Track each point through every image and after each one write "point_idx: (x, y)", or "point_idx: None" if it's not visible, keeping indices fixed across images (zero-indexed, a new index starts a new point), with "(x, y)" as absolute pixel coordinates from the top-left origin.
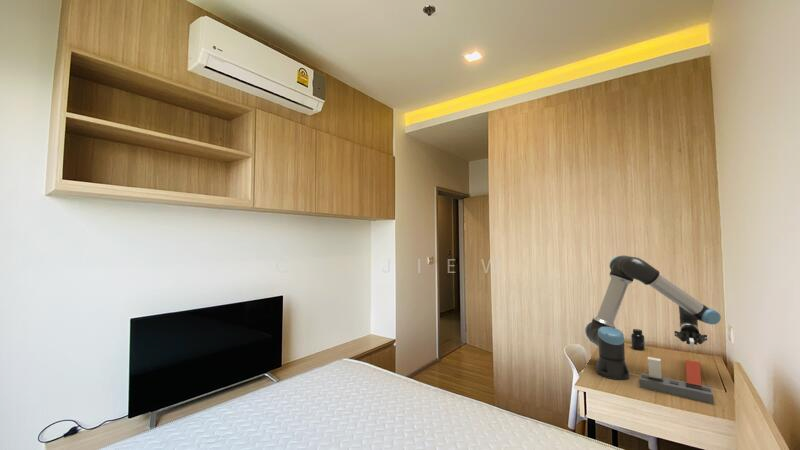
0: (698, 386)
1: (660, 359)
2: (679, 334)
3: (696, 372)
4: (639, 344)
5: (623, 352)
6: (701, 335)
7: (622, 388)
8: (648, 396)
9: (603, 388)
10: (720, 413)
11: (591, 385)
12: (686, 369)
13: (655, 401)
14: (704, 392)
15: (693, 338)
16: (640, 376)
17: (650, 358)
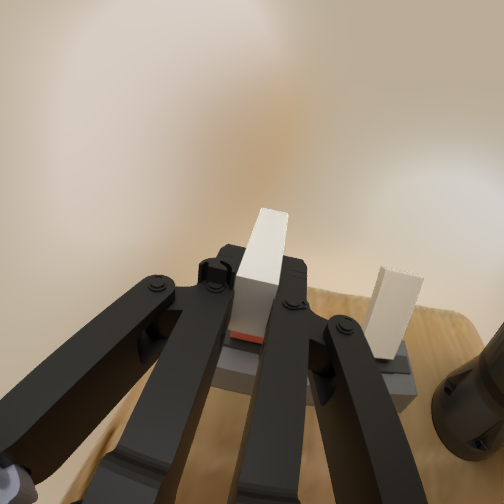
0: (238, 339)
1: (384, 268)
2: (393, 412)
3: None
4: None
5: (499, 343)
6: (17, 435)
7: (418, 336)
8: (362, 319)
9: (441, 320)
10: None
11: (460, 323)
12: None
13: (345, 302)
14: None
15: (231, 285)
16: (408, 362)
17: (412, 274)
